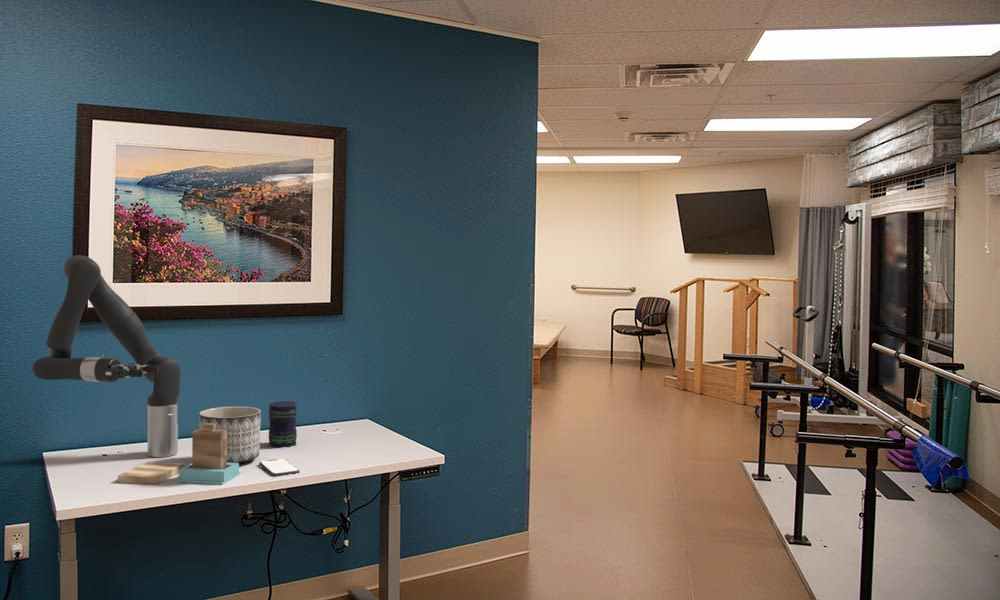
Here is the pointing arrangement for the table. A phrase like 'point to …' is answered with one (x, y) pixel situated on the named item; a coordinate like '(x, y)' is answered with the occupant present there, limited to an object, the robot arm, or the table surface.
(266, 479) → the table surface
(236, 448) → the planter
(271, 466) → the phone case
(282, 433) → the storage jar
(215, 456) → the brown wooden bottle
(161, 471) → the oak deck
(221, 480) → the teal rack
